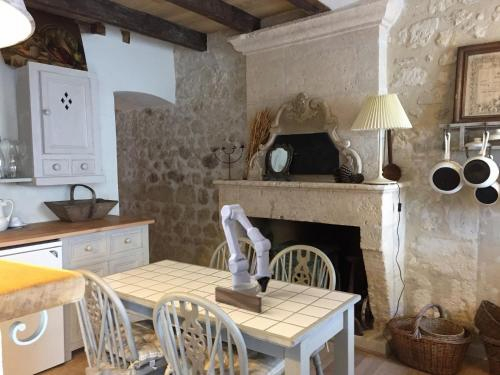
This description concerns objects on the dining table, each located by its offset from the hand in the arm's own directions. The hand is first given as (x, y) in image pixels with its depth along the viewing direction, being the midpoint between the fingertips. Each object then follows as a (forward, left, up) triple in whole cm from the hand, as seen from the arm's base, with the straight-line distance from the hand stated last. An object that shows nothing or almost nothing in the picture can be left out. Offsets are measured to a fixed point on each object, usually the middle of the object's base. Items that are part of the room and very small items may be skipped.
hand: (263, 292), depth 193 cm
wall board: (+19, 0, -2) cm, 19 cm away
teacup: (+12, 0, -2) cm, 12 cm away
